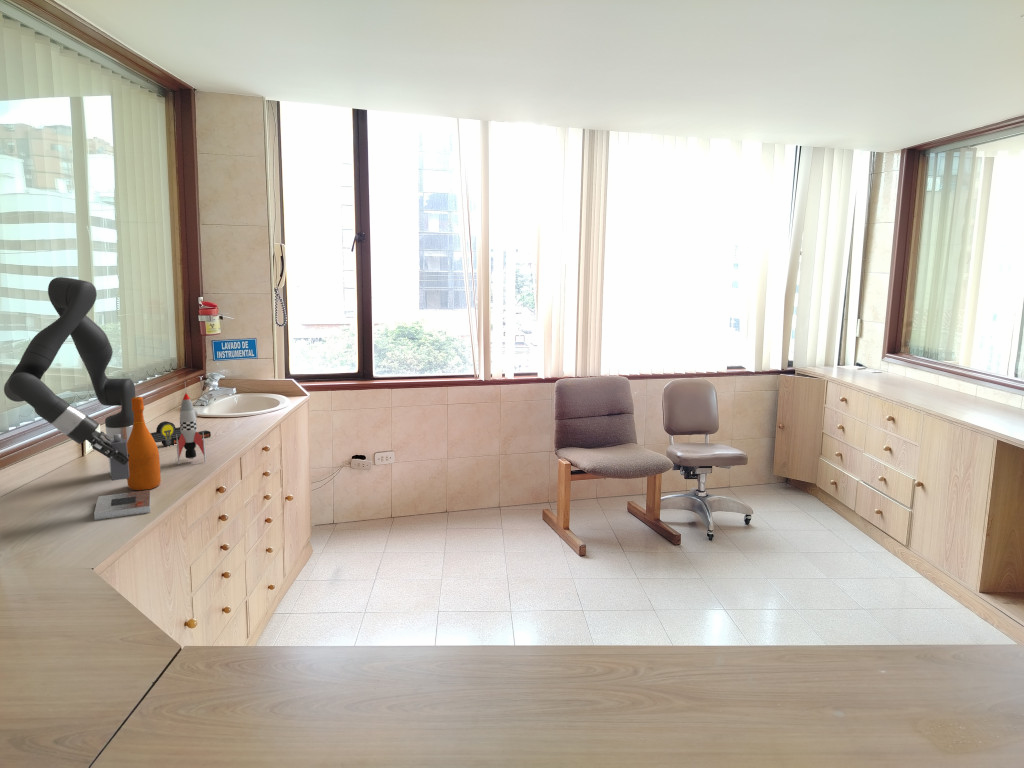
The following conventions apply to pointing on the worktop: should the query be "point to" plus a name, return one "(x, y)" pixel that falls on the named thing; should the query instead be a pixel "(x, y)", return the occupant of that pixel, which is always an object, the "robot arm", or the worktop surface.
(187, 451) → the toy
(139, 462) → the wine bottle
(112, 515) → the socket
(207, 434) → the decorative sign
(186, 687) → the worktop surface
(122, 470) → the plug
